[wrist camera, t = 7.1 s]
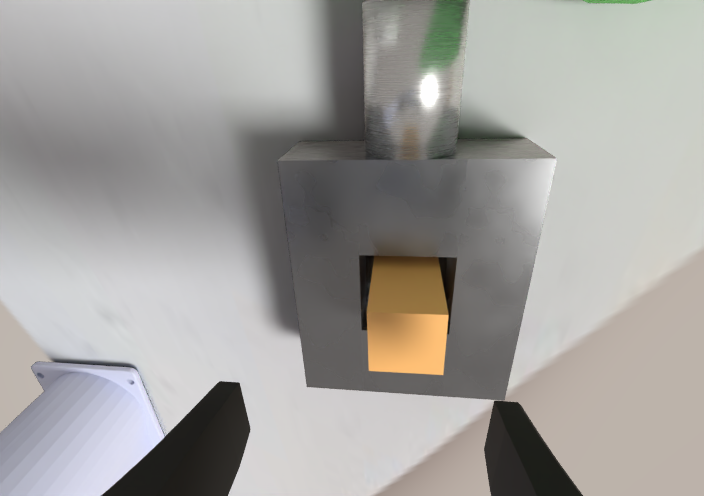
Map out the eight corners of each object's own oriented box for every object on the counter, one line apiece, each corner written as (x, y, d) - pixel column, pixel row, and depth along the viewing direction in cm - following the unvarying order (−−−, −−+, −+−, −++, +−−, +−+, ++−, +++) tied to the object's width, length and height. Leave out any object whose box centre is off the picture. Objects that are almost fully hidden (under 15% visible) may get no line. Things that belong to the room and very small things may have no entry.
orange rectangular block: (434, 237, 18) (448, 315, 13) (431, 286, 19) (443, 374, 14) (376, 237, 18) (366, 312, 13) (377, 285, 20) (368, 371, 14)
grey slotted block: (498, 351, 21) (515, 402, 18) (311, 341, 23) (297, 387, 20) (566, -3, 14) (616, -20, 10) (274, 14, 15) (240, 3, 12)
